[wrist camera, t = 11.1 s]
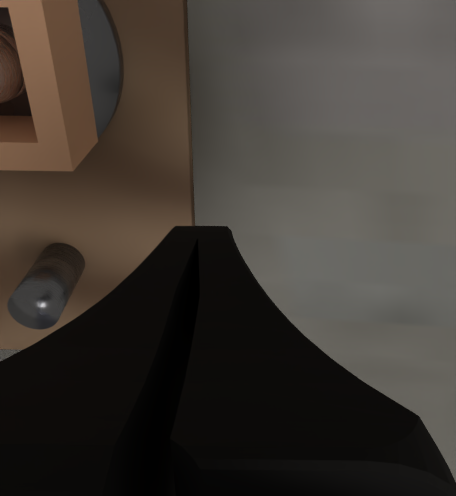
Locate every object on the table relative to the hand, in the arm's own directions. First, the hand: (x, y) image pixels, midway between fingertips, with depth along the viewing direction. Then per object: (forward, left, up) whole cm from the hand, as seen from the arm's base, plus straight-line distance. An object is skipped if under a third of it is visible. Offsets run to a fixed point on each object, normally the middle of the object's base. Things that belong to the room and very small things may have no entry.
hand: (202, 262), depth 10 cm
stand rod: (-8, -2, -8) cm, 12 cm away
